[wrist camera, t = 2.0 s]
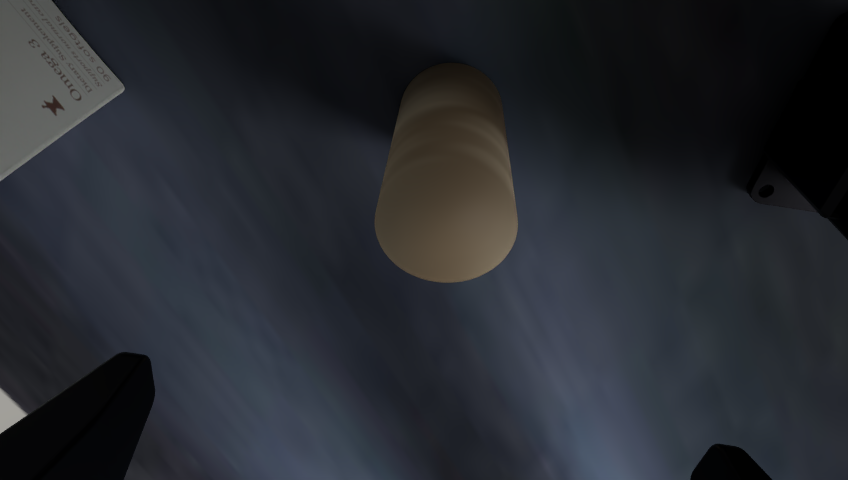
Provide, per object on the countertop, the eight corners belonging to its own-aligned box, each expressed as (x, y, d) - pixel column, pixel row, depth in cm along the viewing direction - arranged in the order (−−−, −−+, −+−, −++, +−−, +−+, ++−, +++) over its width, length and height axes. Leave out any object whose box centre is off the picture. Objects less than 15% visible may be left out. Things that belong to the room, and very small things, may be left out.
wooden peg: (512, 71, 19) (534, 175, 14) (490, 166, 21) (500, 291, 16) (406, 54, 19) (382, 152, 13) (394, 151, 21) (368, 271, 15)
